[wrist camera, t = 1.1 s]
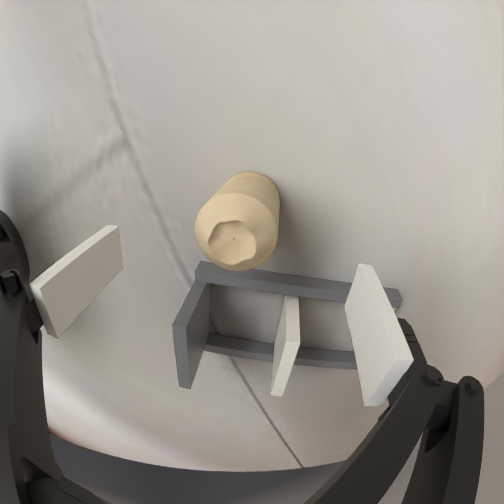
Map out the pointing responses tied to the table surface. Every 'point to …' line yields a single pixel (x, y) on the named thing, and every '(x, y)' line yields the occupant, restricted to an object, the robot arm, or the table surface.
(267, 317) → the table surface
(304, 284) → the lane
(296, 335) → the plate
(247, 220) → the candle
